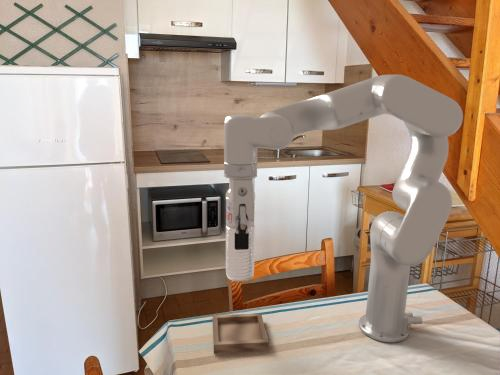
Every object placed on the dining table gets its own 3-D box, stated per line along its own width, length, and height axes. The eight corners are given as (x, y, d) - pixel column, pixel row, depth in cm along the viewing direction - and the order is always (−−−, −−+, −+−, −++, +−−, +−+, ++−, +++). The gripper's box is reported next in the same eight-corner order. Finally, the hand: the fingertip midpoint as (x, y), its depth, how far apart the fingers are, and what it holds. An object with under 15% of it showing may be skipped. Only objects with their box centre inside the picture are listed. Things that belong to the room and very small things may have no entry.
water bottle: (250, 283, 101) (252, 180, 95) (222, 280, 102) (222, 178, 96) (256, 271, 107) (257, 173, 101) (229, 268, 109) (229, 172, 102)
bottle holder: (261, 321, 116) (261, 313, 115) (268, 350, 103) (268, 342, 103) (212, 323, 114) (212, 315, 114) (213, 353, 102) (213, 344, 101)
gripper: (262, 178, 90) (260, 257, 95) (252, 162, 107) (251, 230, 111) (226, 178, 89) (226, 258, 94) (222, 162, 106) (222, 230, 110)
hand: (240, 242), depth 102 cm, fingers closed on water bottle, 6 cm apart
